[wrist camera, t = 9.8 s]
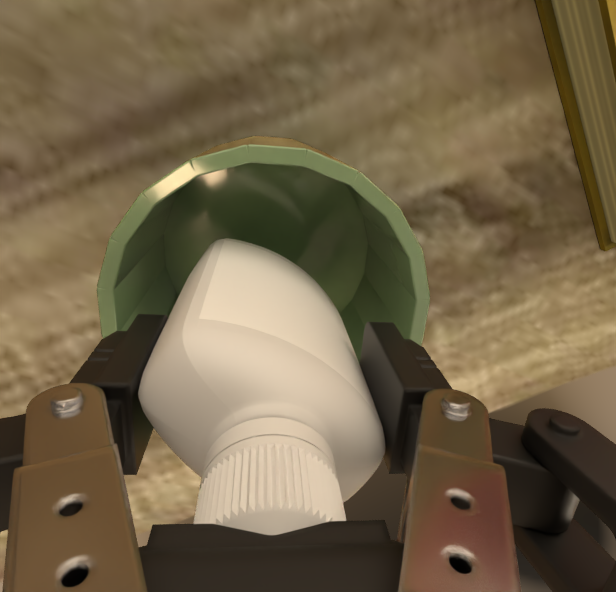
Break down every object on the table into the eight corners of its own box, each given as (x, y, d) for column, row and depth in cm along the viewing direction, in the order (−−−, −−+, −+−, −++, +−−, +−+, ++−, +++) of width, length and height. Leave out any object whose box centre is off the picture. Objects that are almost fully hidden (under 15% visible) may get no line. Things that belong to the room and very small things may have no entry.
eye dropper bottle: (288, 202, 15) (356, 431, 4) (350, 334, 17) (508, 729, 6) (174, 256, 15) (-60, 609, 4) (248, 379, 17) (220, 832, 6)
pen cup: (150, 127, 19) (79, 131, 12) (387, 145, 20) (457, 159, 13) (162, 344, 23) (113, 449, 16) (360, 348, 24) (403, 448, 17)
